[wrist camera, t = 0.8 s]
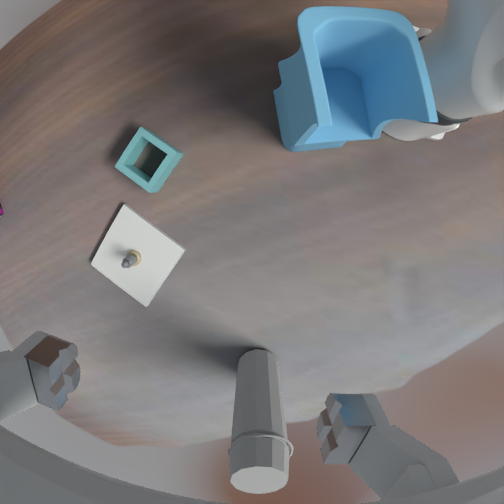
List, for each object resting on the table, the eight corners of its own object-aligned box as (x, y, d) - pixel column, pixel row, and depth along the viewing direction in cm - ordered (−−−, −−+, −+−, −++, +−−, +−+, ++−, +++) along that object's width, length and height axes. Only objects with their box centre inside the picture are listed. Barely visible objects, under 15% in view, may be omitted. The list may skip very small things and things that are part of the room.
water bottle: (227, 360, 51) (211, 476, 27) (264, 338, 50) (270, 454, 26) (258, 392, 53) (259, 505, 29) (294, 372, 52) (313, 486, 28)
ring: (149, 130, 42) (140, 126, 39) (184, 154, 43) (177, 152, 39) (125, 167, 44) (114, 166, 40) (158, 191, 45) (149, 193, 41)
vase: (283, 153, 43) (317, 127, 19) (272, 90, 41) (290, 5, 17) (348, 146, 43) (439, 123, 19) (336, 85, 40) (409, 11, 16)
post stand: (126, 203, 45) (112, 207, 40) (186, 248, 47) (178, 257, 42) (93, 262, 48) (78, 271, 42) (148, 304, 49) (138, 318, 44)
